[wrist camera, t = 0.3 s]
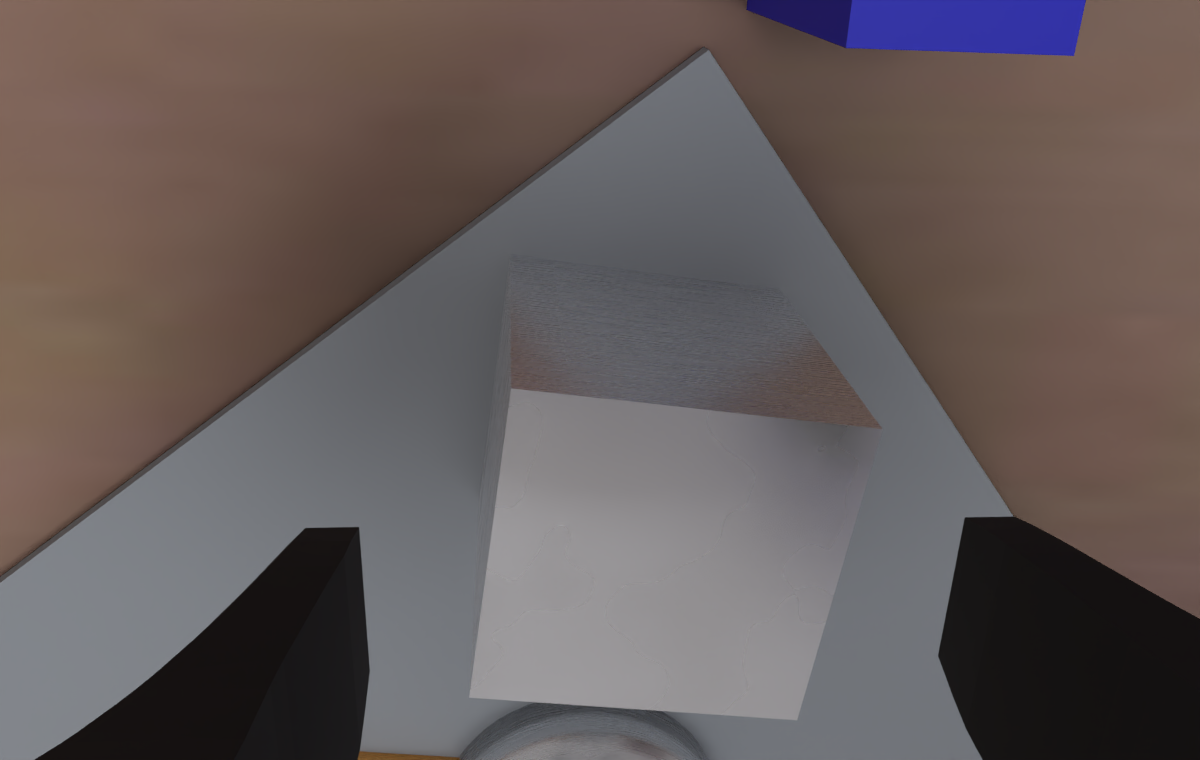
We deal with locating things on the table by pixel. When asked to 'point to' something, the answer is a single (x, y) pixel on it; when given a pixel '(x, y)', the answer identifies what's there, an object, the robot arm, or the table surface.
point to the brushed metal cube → (660, 494)
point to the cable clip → (935, 24)
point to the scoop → (575, 736)
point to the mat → (456, 456)
